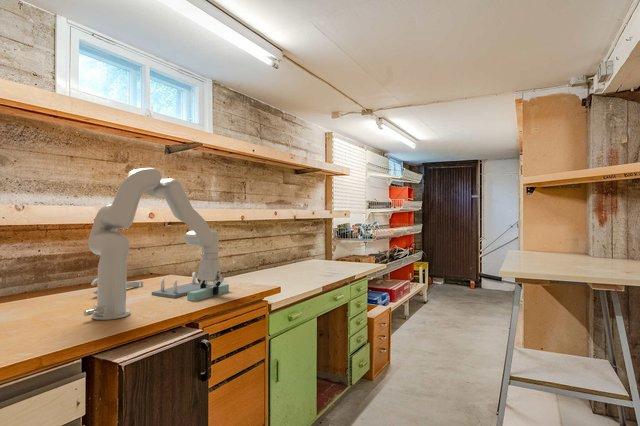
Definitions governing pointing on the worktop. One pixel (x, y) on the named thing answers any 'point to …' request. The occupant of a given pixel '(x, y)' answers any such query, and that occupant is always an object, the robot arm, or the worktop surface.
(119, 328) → the worktop surface
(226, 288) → the bar
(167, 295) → the stand
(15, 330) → the worktop surface
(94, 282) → the wrench
